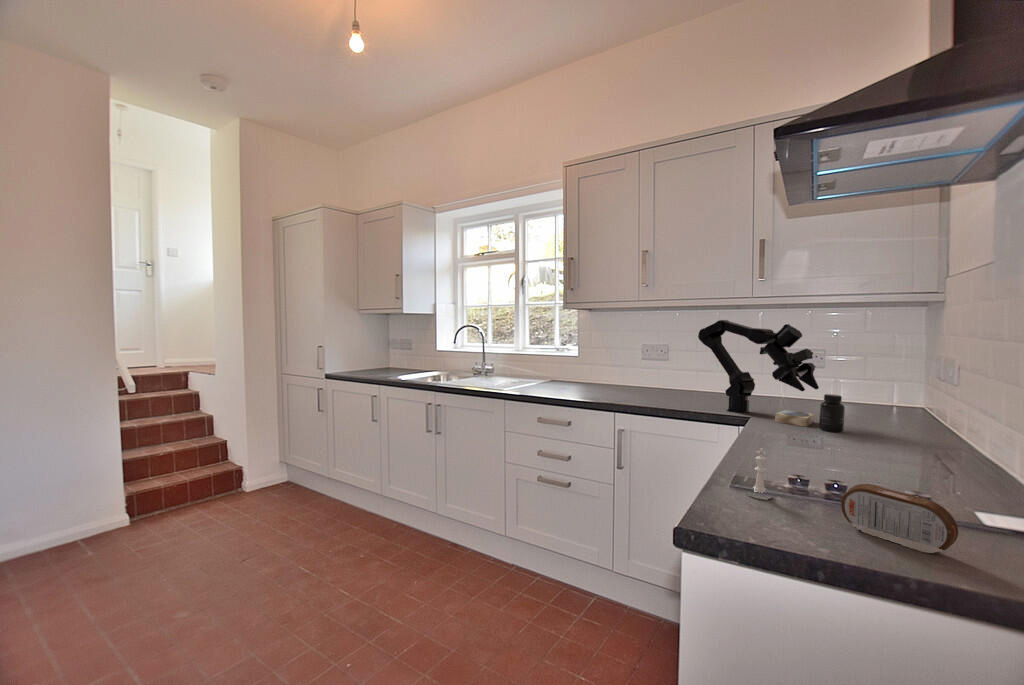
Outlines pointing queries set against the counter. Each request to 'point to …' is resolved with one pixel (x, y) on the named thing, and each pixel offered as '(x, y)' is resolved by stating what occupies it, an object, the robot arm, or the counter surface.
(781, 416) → the birch plinth
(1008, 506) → the counter surface
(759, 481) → the chess piece
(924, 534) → the tin
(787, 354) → the robot arm
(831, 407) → the supplement bottle
